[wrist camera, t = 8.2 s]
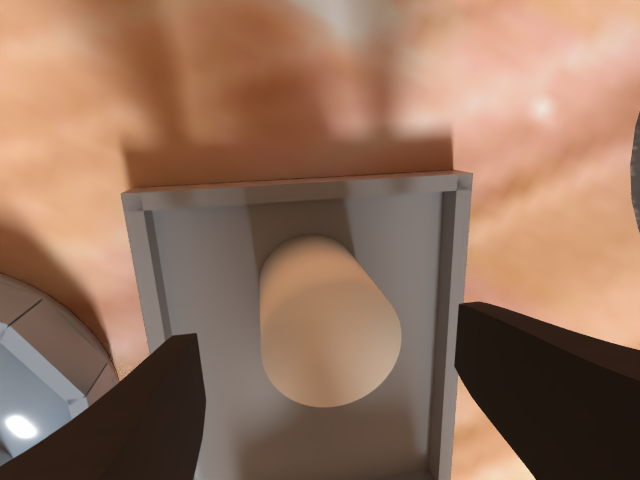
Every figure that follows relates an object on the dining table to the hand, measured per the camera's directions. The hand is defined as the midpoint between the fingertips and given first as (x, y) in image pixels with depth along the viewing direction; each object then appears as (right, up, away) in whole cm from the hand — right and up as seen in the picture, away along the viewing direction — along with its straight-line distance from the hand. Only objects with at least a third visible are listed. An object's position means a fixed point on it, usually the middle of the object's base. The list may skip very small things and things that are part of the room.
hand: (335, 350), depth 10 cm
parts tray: (-1, -2, +6) cm, 7 cm away
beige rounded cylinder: (-1, +1, +5) cm, 5 cm away
